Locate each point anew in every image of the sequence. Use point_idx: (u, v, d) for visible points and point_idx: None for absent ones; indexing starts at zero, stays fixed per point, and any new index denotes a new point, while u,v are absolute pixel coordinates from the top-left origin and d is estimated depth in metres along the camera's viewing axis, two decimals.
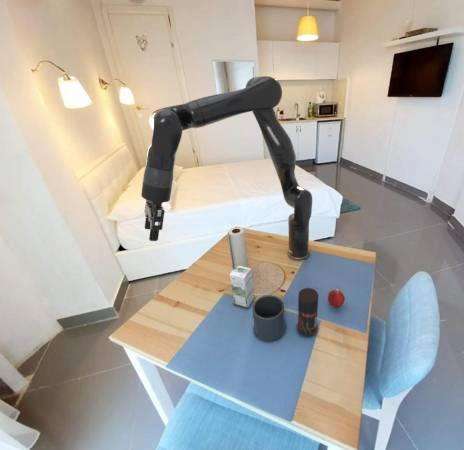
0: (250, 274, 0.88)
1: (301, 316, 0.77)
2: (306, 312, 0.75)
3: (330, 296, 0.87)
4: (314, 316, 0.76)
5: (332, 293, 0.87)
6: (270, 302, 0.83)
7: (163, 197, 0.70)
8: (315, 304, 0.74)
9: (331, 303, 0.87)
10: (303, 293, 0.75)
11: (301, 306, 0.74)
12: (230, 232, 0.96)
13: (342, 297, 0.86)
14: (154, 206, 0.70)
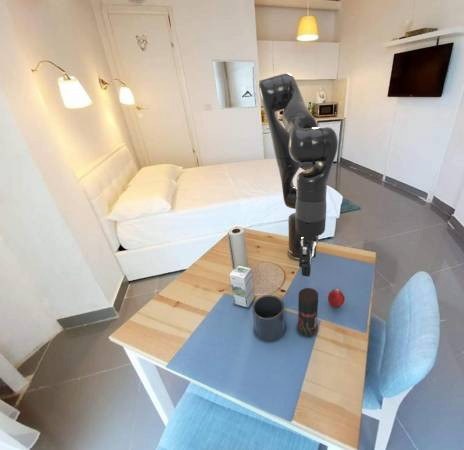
0: (250, 274, 0.88)
1: (301, 316, 0.77)
2: (306, 312, 0.75)
3: (330, 296, 0.87)
4: (314, 316, 0.76)
5: (332, 293, 0.87)
6: (270, 302, 0.83)
7: None
8: (315, 304, 0.74)
9: (331, 303, 0.87)
10: (303, 293, 0.75)
11: (301, 306, 0.74)
12: (230, 232, 0.96)
13: (342, 297, 0.86)
14: None
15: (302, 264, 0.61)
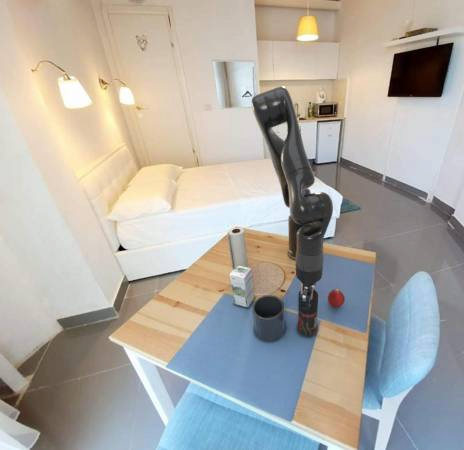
0: (250, 274, 0.88)
1: (301, 316, 0.77)
2: None
3: (330, 296, 0.87)
4: (314, 316, 0.76)
5: (332, 293, 0.87)
6: (270, 302, 0.83)
7: None
8: (315, 304, 0.74)
9: (331, 303, 0.87)
10: None
11: None
12: (230, 232, 0.96)
13: (342, 297, 0.86)
14: None
15: (302, 307, 0.70)
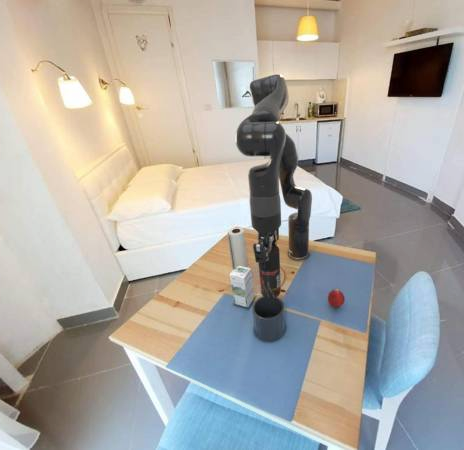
0: (250, 274, 0.88)
1: (261, 275, 0.69)
2: None
3: (330, 296, 0.87)
4: (275, 274, 0.69)
5: (332, 293, 0.87)
6: (270, 302, 0.83)
7: None
8: (275, 259, 0.66)
9: (331, 303, 0.87)
10: None
11: None
12: (230, 232, 0.96)
13: (342, 297, 0.86)
14: None
15: (258, 260, 0.62)
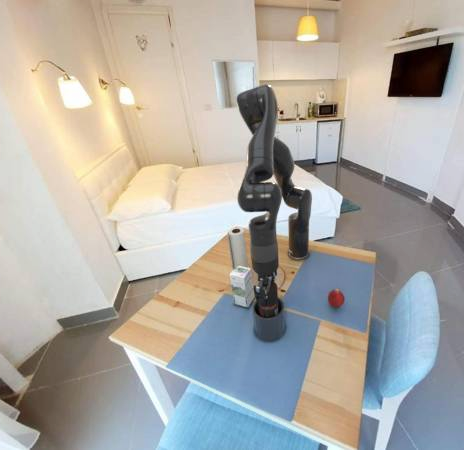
0: (250, 274, 0.88)
1: (261, 308, 0.76)
2: None
3: (330, 296, 0.87)
4: (274, 308, 0.75)
5: (332, 293, 0.87)
6: None
7: None
8: (273, 296, 0.73)
9: (331, 303, 0.87)
10: (262, 285, 0.75)
11: None
12: (230, 232, 0.96)
13: (342, 297, 0.86)
14: None
15: (258, 298, 0.69)
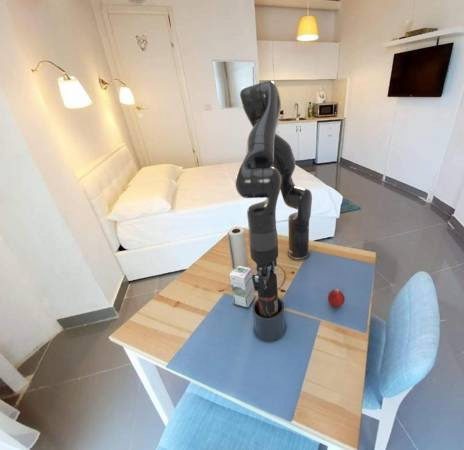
0: (250, 274, 0.88)
1: (260, 300, 0.74)
2: None
3: (330, 296, 0.87)
4: (273, 300, 0.73)
5: (332, 293, 0.87)
6: None
7: None
8: (273, 287, 0.71)
9: (331, 303, 0.87)
10: (262, 276, 0.73)
11: None
12: (230, 232, 0.96)
13: (342, 297, 0.86)
14: None
15: (257, 288, 0.67)
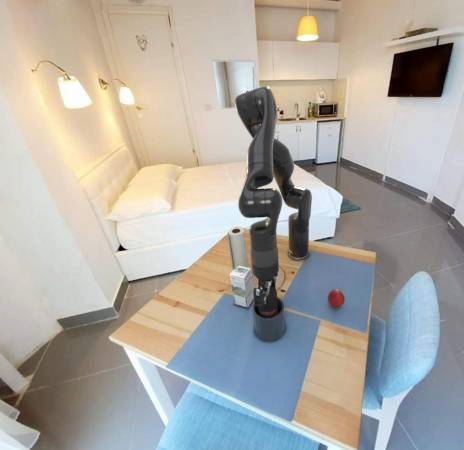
0: (250, 274, 0.88)
1: (261, 314, 0.77)
2: None
3: (330, 296, 0.87)
4: (273, 314, 0.76)
5: (332, 293, 0.87)
6: None
7: None
8: (273, 301, 0.74)
9: (331, 303, 0.87)
10: None
11: None
12: (230, 232, 0.96)
13: (342, 297, 0.86)
14: None
15: (257, 303, 0.68)
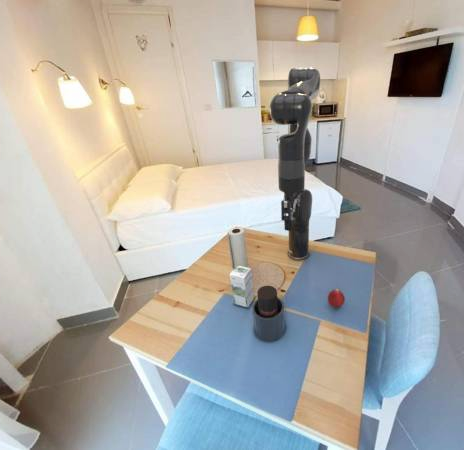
0: (250, 274, 0.88)
1: (261, 314, 0.77)
2: (264, 309, 0.75)
3: (330, 296, 0.87)
4: (273, 314, 0.76)
5: (332, 293, 0.87)
6: None
7: None
8: (273, 301, 0.74)
9: (331, 303, 0.87)
10: (262, 291, 0.76)
11: (260, 304, 0.75)
12: (230, 232, 0.96)
13: (342, 297, 0.86)
14: None
15: (284, 217, 0.70)
